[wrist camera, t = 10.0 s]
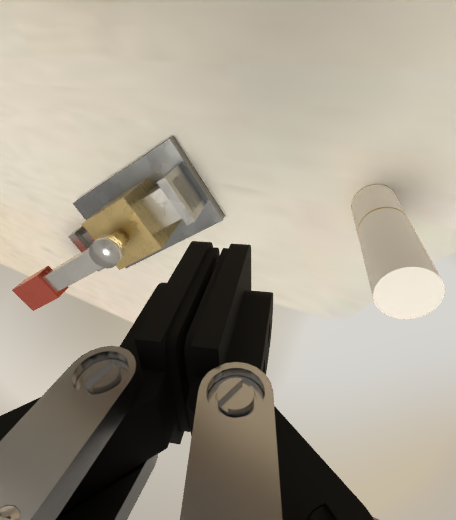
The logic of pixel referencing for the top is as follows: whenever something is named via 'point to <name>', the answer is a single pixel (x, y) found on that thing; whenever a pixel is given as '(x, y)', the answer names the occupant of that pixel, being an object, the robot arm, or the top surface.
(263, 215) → the top surface
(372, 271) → the tube
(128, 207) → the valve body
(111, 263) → the valve lever
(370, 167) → the top surface
